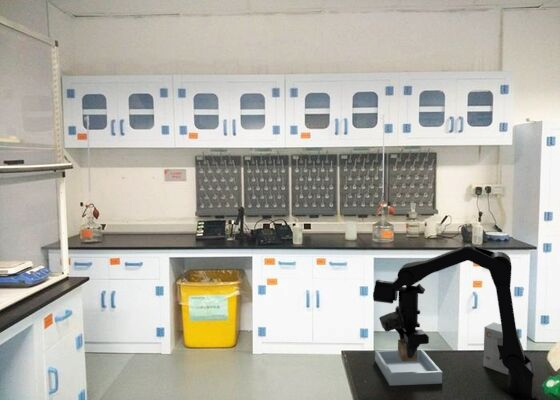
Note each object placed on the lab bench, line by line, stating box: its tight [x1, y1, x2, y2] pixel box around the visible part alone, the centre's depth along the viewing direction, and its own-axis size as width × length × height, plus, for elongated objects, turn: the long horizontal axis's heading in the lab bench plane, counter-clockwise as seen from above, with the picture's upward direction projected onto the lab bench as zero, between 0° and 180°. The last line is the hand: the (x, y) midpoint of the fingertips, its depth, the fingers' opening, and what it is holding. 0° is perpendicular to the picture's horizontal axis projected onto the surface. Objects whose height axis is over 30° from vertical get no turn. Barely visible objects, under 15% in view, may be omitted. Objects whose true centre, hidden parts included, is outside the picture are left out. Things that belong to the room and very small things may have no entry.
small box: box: [482, 322, 520, 376], centre depth 138 cm, size 8×6×13 cm
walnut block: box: [397, 339, 417, 362], centre depth 136 cm, size 4×4×5 cm
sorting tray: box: [374, 348, 443, 386], centre depth 137 cm, size 16×16×4 cm
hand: (407, 354), depth 137 cm, fingers closed on walnut block, 4 cm apart
